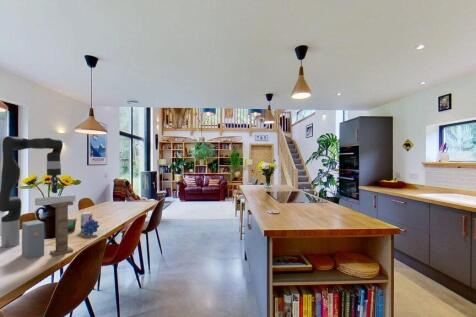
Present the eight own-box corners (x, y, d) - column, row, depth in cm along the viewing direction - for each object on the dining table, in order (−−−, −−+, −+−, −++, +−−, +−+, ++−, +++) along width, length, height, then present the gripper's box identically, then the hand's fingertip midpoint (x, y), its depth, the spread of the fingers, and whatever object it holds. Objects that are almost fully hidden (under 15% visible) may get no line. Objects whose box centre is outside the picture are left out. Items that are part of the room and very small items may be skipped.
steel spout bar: (35, 205, 147) (35, 198, 147) (72, 200, 164) (72, 194, 164) (37, 205, 145) (37, 199, 145) (75, 201, 161) (75, 195, 161)
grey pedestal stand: (50, 253, 155) (50, 202, 155) (68, 248, 163) (68, 200, 163) (54, 256, 150) (54, 204, 150) (73, 251, 158) (73, 201, 158)
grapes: (100, 232, 199) (100, 217, 199) (98, 235, 193) (98, 219, 193) (83, 234, 195) (83, 219, 195) (81, 236, 189) (81, 221, 189)
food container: (56, 233, 198) (56, 220, 198) (60, 231, 204) (60, 219, 204) (74, 232, 201) (74, 219, 201) (76, 229, 207) (76, 218, 207)
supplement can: (94, 229, 208) (94, 211, 208) (88, 232, 199) (88, 214, 199) (84, 229, 207) (84, 212, 207) (78, 232, 199) (78, 214, 199)
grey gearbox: (21, 254, 153) (22, 222, 153) (37, 250, 160) (38, 220, 160) (28, 259, 146) (28, 225, 146) (44, 255, 152) (44, 222, 152)
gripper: (46, 168, 166) (46, 192, 166) (47, 168, 155) (48, 194, 155) (59, 168, 171) (60, 191, 171) (61, 167, 160) (62, 192, 160)
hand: (54, 192), depth 163 cm, fingers open, 8 cm apart
